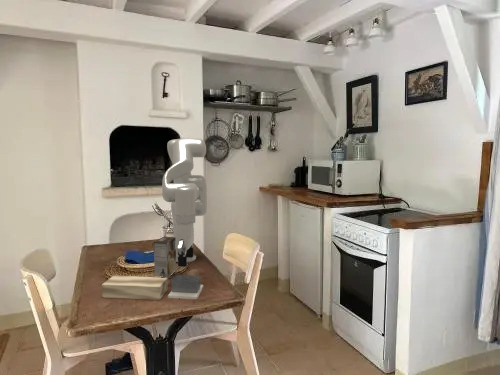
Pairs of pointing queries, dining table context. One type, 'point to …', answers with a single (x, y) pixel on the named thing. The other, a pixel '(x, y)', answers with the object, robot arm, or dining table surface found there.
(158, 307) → the dining table surface
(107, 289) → the body
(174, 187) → the robot arm
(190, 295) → the tile
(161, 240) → the coffee box
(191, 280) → the grey metal block
